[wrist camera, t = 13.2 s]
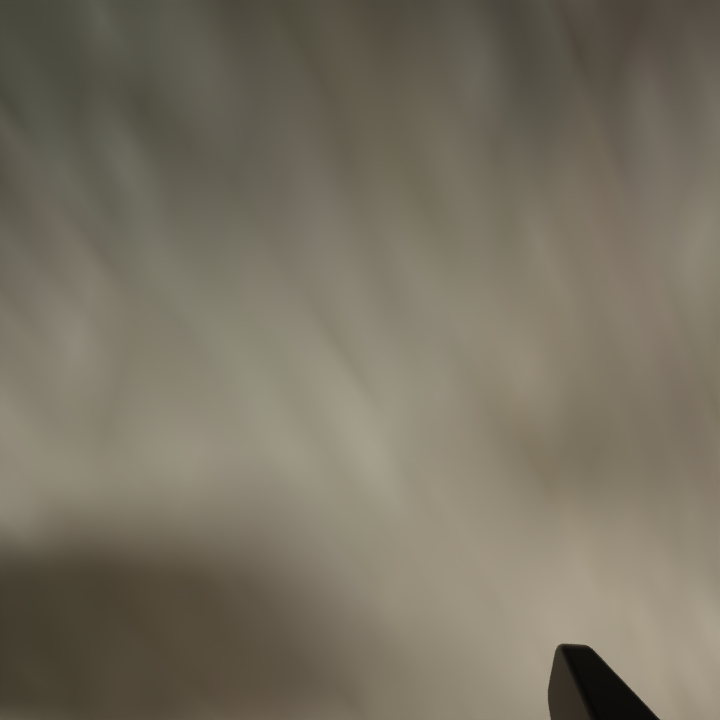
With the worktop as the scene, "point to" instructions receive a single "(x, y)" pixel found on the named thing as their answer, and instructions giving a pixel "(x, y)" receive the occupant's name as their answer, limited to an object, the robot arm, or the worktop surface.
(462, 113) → the worktop surface
